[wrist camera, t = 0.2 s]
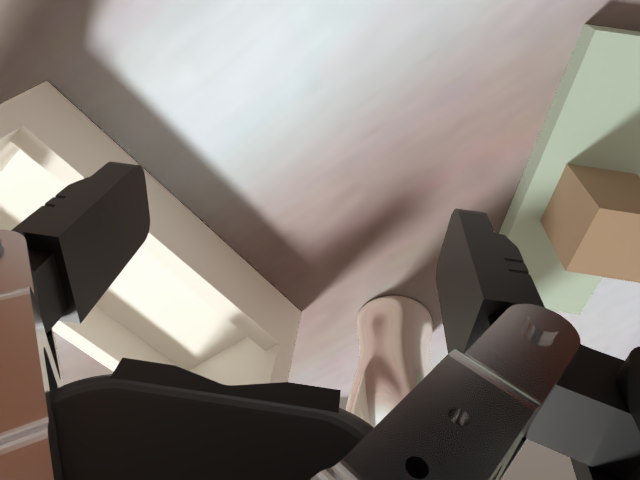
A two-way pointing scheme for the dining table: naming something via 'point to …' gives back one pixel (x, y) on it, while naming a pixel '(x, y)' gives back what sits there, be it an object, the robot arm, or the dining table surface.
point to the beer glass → (389, 355)
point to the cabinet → (148, 260)
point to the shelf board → (581, 139)
